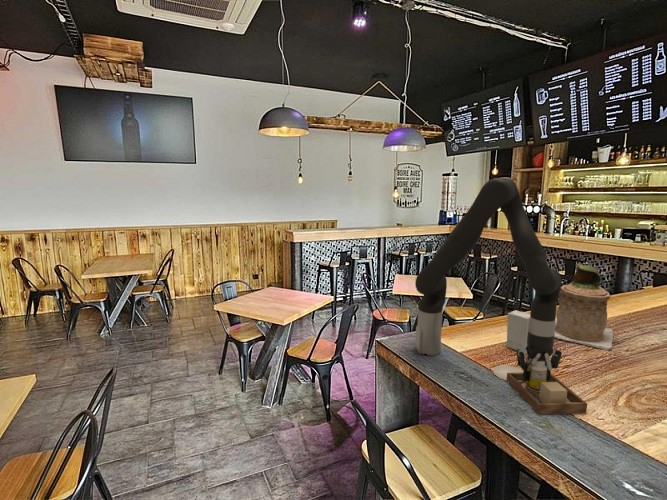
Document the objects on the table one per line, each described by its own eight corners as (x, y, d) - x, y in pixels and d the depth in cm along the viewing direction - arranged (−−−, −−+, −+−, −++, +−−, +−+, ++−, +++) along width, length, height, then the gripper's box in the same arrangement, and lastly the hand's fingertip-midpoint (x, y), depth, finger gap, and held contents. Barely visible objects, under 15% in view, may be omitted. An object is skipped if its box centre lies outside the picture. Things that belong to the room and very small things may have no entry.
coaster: (501, 383, 127) (501, 381, 127) (487, 367, 138) (487, 365, 138) (533, 382, 128) (533, 380, 128) (516, 366, 138) (516, 364, 138)
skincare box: (532, 350, 151) (536, 315, 148) (524, 354, 148) (527, 318, 145) (513, 343, 158) (516, 309, 155) (504, 346, 155) (507, 312, 152)
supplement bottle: (528, 381, 128) (530, 353, 126) (546, 387, 125) (549, 358, 123) (523, 388, 124) (526, 359, 122) (542, 394, 120) (545, 365, 118)
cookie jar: (612, 352, 149) (623, 274, 143) (542, 337, 164) (549, 265, 158) (613, 332, 169) (623, 262, 163) (550, 320, 183) (557, 255, 177)
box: (548, 409, 113) (550, 391, 112) (539, 399, 118) (541, 382, 117) (565, 409, 113) (567, 390, 112) (554, 399, 118) (556, 381, 117)
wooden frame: (537, 414, 110) (538, 405, 110) (506, 380, 129) (507, 372, 128) (586, 412, 111) (587, 403, 110) (548, 379, 129) (548, 371, 129)
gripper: (525, 336, 116) (520, 386, 120) (570, 335, 117) (564, 385, 120) (513, 327, 124) (508, 374, 127) (555, 326, 124) (550, 373, 128)
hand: (536, 379), depth 124 cm, fingers closed on supplement bottle, 5 cm apart
